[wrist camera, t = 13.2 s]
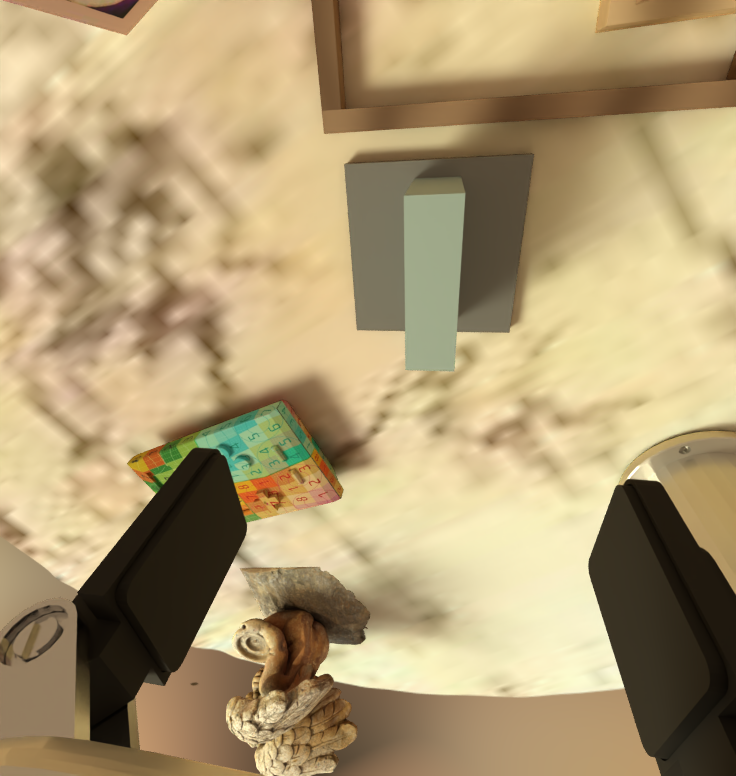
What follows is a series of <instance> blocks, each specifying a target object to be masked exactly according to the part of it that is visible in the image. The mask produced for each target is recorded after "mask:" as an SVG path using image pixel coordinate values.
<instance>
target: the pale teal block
mask: <svg viewBox="0 0 736 776" xmlns="http://www.w3.org/2000/svg"><path fill="white" fill-rule="evenodd" d="M464 207H465V190H464V186H463V182H462V178H461V176H457V177H436V178H415V179H414V180H413V182H412V183H411V185H410V187H409V188H408V190H407V191H406V193H405V195H404V267H405V363H406V370H423V371H454V369H455V353H456V336H457V320H458V304H459V288H460V272H461V256H462V240H463V223H464Z"/></svg>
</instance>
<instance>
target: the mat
mask: <svg viewBox="0 0 736 776" xmlns="http://www.w3.org/2000/svg"><path fill="white" fill-rule="evenodd" d="M533 157H534V154H515V155H496V156H477V157H458V158H440V159H421V160H402V161H383V162H364V163H347V164H344V166H345V179H346V192H347V205H348V219H349V232H350V245H351V258H352V271H353V284H354V297H355V310H356V324H357V330H378V331H405V267H404V195H405V193H406V191H407V190H408V188H409V187H410V185H411V183H412V182H413V180H414V179H415V178H436V177H457V176H461V178H462V182H463V186H464V190H465V207H464V223H463V240H462V256H461V272H460V288H459V304H458V320H457V332H503V333H509V331H510V324H511V317H512V310H513V302H514V295H515V288H516V281H517V273H518V266H519V259H520V252H521V244H522V237H523V230H524V222H525V215H526V208H527V201H528V193H529V186H530V179H531V172H532V164H533Z"/></svg>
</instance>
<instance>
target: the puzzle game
mask: <svg viewBox="0 0 736 776" xmlns="http://www.w3.org/2000/svg"><path fill="white" fill-rule="evenodd" d="M196 447H198V448H212V449H218V450H219V451H220V453H221V455H224V456H225V457H226V459H227V462H228V465H229V469H230V472H231V475H232V478H233V481H234V485H235V488H236V491H237V494H238V497H239V501H240V504H241V507H242V510H243V513H244V517H245V520H246V522H250V521H254V520H259V519H263V518H267V517H271V516H276V515H280V514H284V513H289V512H293V511H297V510H301V509H306V508H310V507H314V506H318V505H323V504H327V503H331V502H334V501H336V500H339V499H341V497H342V493H343V490H344V489H343V488H342V486H341V484H340V483H339V481H338V479H337V476H336V474H335V471H334V469H333V467H332V466H331V464H330V463H329V461H328V460H327V458H326V457H325V455H324V454H323V453H322V451H321V450H320V448H319V447H318V445H317V444H316V442H315V441H314V440H313V438H312V437H311V435H310V434H309V432H308V431H307V429H306V428H305V427H304V425H303V424H302V422H301V421H300V419H299V418H298V416H297V415H296V414H295V412H294V411H293V409H292V408H291V406H290V405H289V403H288V402H287V401H284V400H281V401H278V402H276V403H273V404H270V405H268V406H265V407H262V408H260V409H257V410H254V411H252V412H249V413H246V414H244V415H241V416H238V417H236V418H233V419H230V420H228V421H225V422H222V423H220V424H217V425H214V426H212V427H209V428H206V429H204V430H201V431H198V432H196V433H193V434H190V435H188V436H185V437H182V438H180V439H177V440H174V441H172V442H169V443H166V444H164V445H162V446H159V447H156V448H154V449H151V450H148V451H146V452H143V453H140V454H138V455H136V456H134V457H133V458H132V459H131V460H130V461H129V462H128V463H127V464H128V465H129V466H130V467H131V468H132V469H133V470H134V472H135V473H136V474H137V475H138V476H139V477H140V478H141V479H142V480H143V481H144V482H145V483H146V484H147V485H148V486H149V487H150V488H151V489H152V490H153V491H154V492H155V493H157V492H158V491H159V490H160V488H161V487H162V486H163V485H164V483H165V482H166V481H167V480H168V478H169V477H170V476H171V475H172V473H173V472H174V471H175V470H176V468H177V467H178V466H179V465H180V463H181V462H182V461H183V460H184V458H185V457H186V456H187V455H188V453H189V452H190V451H191V450H192V449H193V448H196Z"/></svg>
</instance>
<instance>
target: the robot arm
mask: <svg viewBox="0 0 736 776" xmlns="http://www.w3.org/2000/svg"><path fill="white" fill-rule="evenodd" d="M246 532H247V523H246V520H245V517H244V513H243V510H242V507H241V504H240V501H239V497H238V494H237V491H236V488H235V485H234V481H233V478H232V475H231V472H230V469H229V465H228V462H227V459H226V457H225V456H224V455H221V453H220V451H219V450H218V449H212V448H198V447H196V448H193V449H192V450H191V451H190V452H189V453H188V455H187V456H186V457H185V458H184V460H183V461H182V462H181V463H180V465H179V466H178V467H177V468H176V470H175V471H174V472H173V473H172V475H171V476H170V477H169V478H168V480H167V481H166V482H165V483H164V485H163V486H162V487H161V488H160V490H159V491H158V492H157V493H156V495H155V496H154V497H153V498H152V500H151V501H150V502H149V503H148V505H147V506H146V507H145V508H144V510H143V511H142V512H141V513H140V515H139V516H138V517H137V518H136V520H135V521H134V522H133V523H132V525H131V526H130V527H129V528H128V530H127V531H126V532H125V533H124V535H123V536H122V537H121V538H120V540H119V541H118V542H117V543H116V545H115V546H114V547H113V548H112V550H111V551H110V552H109V553H108V555H107V556H106V557H105V558H104V560H103V561H102V562H101V563H100V565H99V566H98V567H97V568H96V570H95V571H94V572H93V573H92V575H91V576H90V577H89V578H88V580H87V581H86V582H85V583H84V585H83V586H82V587H81V588H80V590H79V591H78V592H77V593H78V595H77V596H76V597H75V599H74V600H73V601H72V602H71V601H70V600H68V599H64V598H53V599H48V600H45V601H42V602H39V603H37V604H35V605H33V606H31V607H29V608H27V609H25V610H24V611H22V612H21V613H20V614H19V615H17V616H16V617H15V618H13V619H12V620H11V621H10V622H9V623H8V624H7V625H6V626H5V627H4V628H3V629H2V630H1V631H0V776H265V775H260V774H256V773H250V772H246V771H241V770H236V769H232V768H227V767H222V766H217V765H212V764H208V763H203V762H198V761H193V760H188V759H184V758H179V757H174V756H169V755H164V754H159V753H154V752H149V751H143V750H140V745H139V733H138V722H137V711H136V701H135V700H136V699H135V696H136V695H137V693H138V691H139V689H140V687H141V685H142V684H143V682H145V683H150V684H156V685H161V686H165V684H166V682H167V680H168V678H169V676H170V674H171V672H175V671H177V670H178V669H179V667H180V666H181V664H182V663H183V661H184V658H185V657H186V655H187V652H188V650H189V648H190V647H191V645H192V642H193V640H194V638H195V636H196V634H197V632H198V630H199V628H200V626H201V624H202V622H203V620H204V618H205V616H206V614H207V612H208V610H209V608H210V606H211V604H212V602H213V600H214V598H215V596H216V594H217V592H218V590H219V588H220V586H221V584H222V582H223V580H224V578H225V576H226V574H227V572H228V570H229V568H230V566H231V564H232V562H233V560H234V558H235V556H236V554H237V552H238V550H239V548H240V546H241V544H242V542H243V540H244V538H245V536H246ZM588 567H589V575H590V579H591V582H592V585H593V588H594V591H595V595H596V598H597V601H598V604H599V607H600V611H601V614H602V617H603V620H604V623H605V627H606V630H607V633H608V636H609V639H610V643H611V646H612V649H613V652H614V655H615V659H616V662H617V665H618V668H619V671H620V675H621V678H622V681H623V684H624V687H625V691H626V694H627V697H628V700H629V703H630V707H631V710H632V713H633V716H634V719H635V723H636V726H637V729H638V732H639V735H640V738H641V742H642V744H643V747H644V749H645V751H646V752H647V754H648V755H649V756H651V757H655V758H656V761H657V764H658V767H659V770H660V773H661V776H736V432H730V431H706V432H696V433H691V434H686V435H682V436H679V437H676V438H673V439H670V440H667V441H664V442H662V443H660V444H658V445H656V446H654V447H652V448H650V449H649V450H647V451H646V452H644V453H643V454H641V455H640V456H639V457H637V458H636V459H635V460H634V461H633V462H632V463H631V464H630V465H629V466H628V468H627V469H626V470H625V472H624V473H623V475H622V477H621V479H620V482H619V485H617V486H616V488H615V490H614V493H613V495H612V498H611V501H610V504H609V506H608V509H607V512H606V515H605V517H604V520H603V523H602V526H601V528H600V531H599V534H598V536H597V539H596V542H595V545H594V547H593V550H592V553H591V556H590V558H589V564H588Z"/></svg>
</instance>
